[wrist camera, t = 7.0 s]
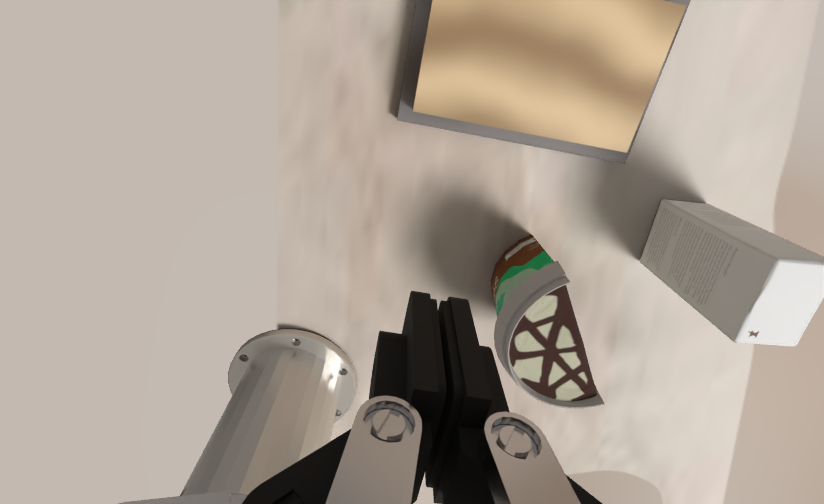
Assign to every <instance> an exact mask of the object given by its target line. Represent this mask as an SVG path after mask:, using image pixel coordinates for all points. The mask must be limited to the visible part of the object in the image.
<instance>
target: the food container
mask: <svg viewBox="0 0 824 504" xmlns="http://www.w3.org/2000/svg"><path fill="white" fill-rule="evenodd" d="M569 283H570V281H569V280H568V278H567V277H566V274H565V272H564V271H563V269H562V267H561V266H560V264H559V262H558V261H556V262H554V261H553V260H552V259H551V257H550V256H549V255H548V254H547V253H546V251H545V250H544V249H543V248H542V246H541V245H540V244H539V243H538V242H537V240H536V239H535V238H534V237H533V235H530V236H528V237H526V238H523V239H521V240H519V241H518V242H517V243H515V244H514V245H513V246H511V247H510V248H509V249H508V250H506V251H505V252H504V254H503V255H502V257H501V258H500V259H499V261H498V262H497V264H496V265H495V269H494V272H493V275H492V278H491V287H492V294H493V299H494V304H495V308H496V313H497V321H496V324H495V332H494V341H495V348H496V352H497V355H498V358H499V359H500V361H501V363H502V365H503V367H504V368H505V370H506V371H507V372H508V374H509V375H510V377H511V378H512V379H513V381H514V382H515V383H516V384H517V385H518V386H519V387H520V388H521V389H523V390H524V391H525V392H526V393H528V394H529V395H530V396H532V397H534V398H535V399H537V400H539V401H541V402H544V403H546V404H549V405H553V406H557V407H563V408H588V407H595V406H600V405H604V402H603V400H602V398H601V396H600V395H599V393H598V391H597V389H596V386H595V384H594V381H593V378H592V375H591V371H590V367H589V364H588V360H587V356H586V352H585V348H584V344H583V341H582V338H581V335H580V331H579V328H578V325H577V322H576V318H575V315H574V312H573V308H572V305H571V301H570V298H569V294H568V291H567V288H566V284H569Z"/></svg>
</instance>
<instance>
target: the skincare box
mask: <svg viewBox="0 0 824 504" xmlns="http://www.w3.org/2000/svg"><path fill="white" fill-rule="evenodd" d="M640 263H641V264H643V265H644V266H645V267H646V268H647V269H648V270H650V271H651V272H652V273H653V274H654V275H656V276H657V277H658V278H659V279H660V280H662V281H663V282H664V283H665V284H666V285H667V286H669V287H670V288H671V289H672V290H673V291H674V292H676V293H677V294H678V295H679V296H680V297H681V298H683V299H684V300H685V301H686V302H687V303H689V304H690V305H691V306H692V307H693V308H695V309H696V310H697V311H698V312H699V313H700V314H702V315H703V316H704V317H705V318H706V319H708V320H709V321H710V322H711V323H712V324H713V325H715V326H716V327H717V328H718V329H719V330H721V331H722V332H723V333H724V334H725V335H726V336H728V337H729V338H730V339H731V340H732V341H733V342H735V343H753V344H767V345H781V346H796V345H797V343H798V342H799V339H800V338H801V336H802V334H803V332H804V330H805V329H806V326H807V325H808V323H809V321H810V320H811V318H812V316H813V315H814V313H815V311H816V310H817V308H818V306H819V305H820V303H821V301H822V299H823V298H824V257H823V256H821V255H819V254H816V253H814V252H812V251H810V250H808V249H806V248H803V247H801V246H799V245H797V244H795V243H792V242H790V241H788V240H786V239H784V238H781V237H779V236H777V235H775V234H773V233H770V232H768V231H766V230H764V229H762V228H760V227H758V226H755V225H753V224H751V223H749V222H747V221H744V220H742V219H740V218H738V217H736V216H733V215H731V214H729V213H727V212H725V211H723V210H720V209H718V208H716V207H714V206H712V205H710V204H706V203H694V202H685V201H676V200H666V199H663V200H661V203H660V206H659V209H658V212H657V214H656V217H655V220H654V223H653V226H652V228H651V231H650V234H649V237H648V240H647V242H646V245H645V248H644V251H643V253H642V256H641V259H640Z"/></svg>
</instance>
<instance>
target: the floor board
mask: <svg viewBox="0 0 824 504" xmlns="http://www.w3.org/2000/svg"><path fill="white" fill-rule="evenodd" d="M665 1H669V2H673V3H678V4H682V5H687V6H686V9H685V11H684V14H683V16H682V19H681V21H680V24H679V26H678V28H677V31H676V33H675V36H674V38H673V41H672V43H671V46H670V48H669V51H668V53H667V56H666V58H665V61H664V63H663V65H662V68H661V70H660V73H659V75H658V78H657V80H656V83H655V85H654V88H653V90H652V93H651V95H650V97H649V100H648V102H647V105H646V107H645V110H644V112H643V115H642V117H641V120H640V122H639V125H638V127H637V130H636V132H635V134H634V137H633V139H632V142H631V144H630V147H629V149H628V152H627V153H625V152H620V151H615V150H610V149H605V148H600V147H594V146H589V145H584V144H579V143H574V142H569V141H563V140H558V139H553V138H548V137H543V136H538V135H532V134H527V133H522V132H517V131H512V130H507V129H501V128H496V127H491V126H486V125H481V124H476V123H470V122H465V121H460V120H455V119H450V118H445V117H439V116H434V115H429V114H424V113H419V112H414V111H413V105H414V99H415V93H416V88H417V82H418V76H419V71H420V65H421V59H422V54H423V48H424V42H425V37H426V31H427V26H428V20H429V14H430V9H431V3H432V0H417V1H416V7H415V13H414V20H413V26H412V32H411V38H410V44H409V50H408V56H407V62H406V69H405V75H404V81H403V87H402V93H401V99H400V105H399V111H398V118H397V120H399V121H404V122H409V123H414V124H420V125H425V126H430V127H435V128H441V129H446V130H451V131H456V132H461V133H467V134H472V135H477V136H482V137H488V138H493V139H498V140H503V141H509V142H514V143H519V144H524V145H530V146H535V147H540V148H545V149H550V150H556V151H561V152H566V153H571V154H577V155H582V156H587V157H592V158H598V159H603V160H608V161H613V162H618V163H624V164H625V162H626V160H627V157H628V155H629V152H630V150H631V147H632V145H633V142H634V140H635V137H636V135H637V133H638V130H639V128H640V125H641V123H642V120H643V118H644V115H645V113H646V110H647V108H648V105H649V103H650V100H651V98H652V95H653V93H654V90H655V88H656V85H657V83H658V80H659V78H660V75H661V73H662V70H663V68H664V65H665V63H666V60H667V58H668V55H669V53H670V50H671V48H672V45H673V43H674V40H675V38H676V35H677V33H678V30H679V28H680V26H681V23H682V21H683V18H684V16H685V13H686V11H687V8H688V6H689V3H690V1H691V0H665Z"/></svg>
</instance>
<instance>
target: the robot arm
mask: <svg viewBox="0 0 824 504" xmlns="http://www.w3.org/2000/svg"><path fill="white" fill-rule="evenodd" d="M228 383H229V387H230V391H231V393H232V395H233V396H232V398H231V400H230V402H229V403H228V405H227V407H226V410H225V411H224V413H223V415H222V417H221V419H220V421H219V423H218V424H217V426H216V428H215V430H214V432H213V434H212V436H211V438H210V440H209V442H208V443H207V445H206V447H205V449H204V451H203V453H202V455H201V457H200V459H199V461H198V462H197V464H196V466H195V468H194V470H193V472H192V474H191V476H190V478H189V480H188V481H187V483H186V485H185V487H184V489H183V491H182V493H181V495H180V496H178V497H168V498H159V499H150V500H141V501H132V502H124V503H120V504H413V503H414V502H415V501H416V500H417V497H418V493H419V490H420V486H421V483H422V480H423V477H424V473H425V478H426V486H427V487H431V488H433V495H434V503H439V504H602V503H601V502H599V501H598V500H597V499H596V498H594V497H593V496H592V495H591V494H589V493H588V492H587V491H586V490H584V489H583V488H582V487H581V486H579V485H578V484H577V483H576V482H574V481H573V480H572V479H570V478H569V477H568V476H567V475H565V473H564V471H563V469H562V467H561V465H560V464H559V462H558V460H557V458H556V456H555V454H554V452H553V450H552V448H551V446H550V445H549V443H548V441H547V439H546V437H545V435H544V434H543V433H542V431H541V430H540V429H539V428H538V427H537V426H536V425H535V424H534V423H533V422H532V421H530V420H528V419H527V418H525V417H524V416H521V415H518V414H516V413H511V412H509V408H508V405H507V402H506V398H505V395H504V391H503V388H502V384H501V381H500V377H499V374H498V370H497V367H496V363H495V360H494V356H493V353H492V350H491V348H489V347H485V346H479V342H478V338H477V334H476V330H475V326H474V322H473V318H472V314H471V310H470V306H469V302H468V300H466V299H460V298H454V297H449V298H448V299H447V301H441V302H440V305H439V309H437V301H436V300H435V299H431V298H430V294H428V293H422V292H415V291H411V293H410V297H409V302H408V307H407V311H406V316H405V321H404V326H403V330H402V334H397V333H391V332H384V331H380V332H379V336H378V341H377V347H376V352H375V358H374V364H373V371H372V378H371V386H370V394H369V400H367V401H366V402H365V403H364V404H362V405H361V407H360V409H359V410H358V412H357V415H356V417H355V420H354V423H353V426H352V429H350V430H349V431H347V432H345V433H344V434H342V435H340V436H339V437H337V438H335V439H334V440H332V441H330V438H331V434H332V429H333V424H334V423H335V422H336V421H338V420H339V419H340V418H342V417H343V416H344V415H345V414H346V413H347V412H348V410H349V408H350V407H351V405H352V403H353V400H354V397H355V393H356V385H357V382H356V374H355V371H354V368H353V365H352V364H351V362H350V360H349V359H348V357H347V356H346V355H345V354H344V352H343V351H342V350H341V349H340V348H338V347H337V346H336V345H335V344H333V343H332V342H331V341H329V340H327V339H325V338H323V337H321V336H319V335H316V334H313V333H310V332H307V331H302V330H296V329H279V330H272V331H268V332H265V333H262V334H259V335H257V336H255V337H253V338H251V339H250V340H248V341H247V342H246V343H245V344H244V345H242V347H241V348H240V349H239V351H238V352H237V353H236V355H235V357H234V359H233V360H232V362H231V365H230V368H229V372H228Z"/></svg>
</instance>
